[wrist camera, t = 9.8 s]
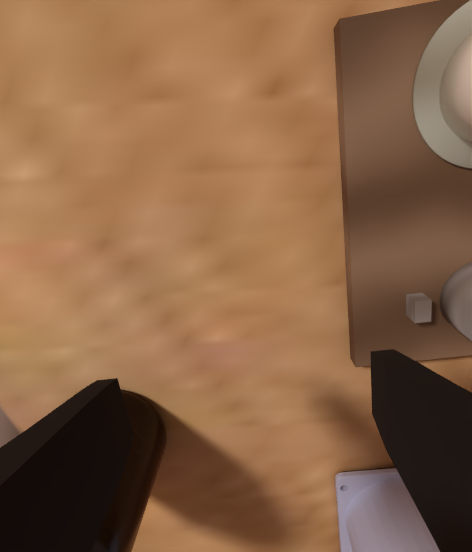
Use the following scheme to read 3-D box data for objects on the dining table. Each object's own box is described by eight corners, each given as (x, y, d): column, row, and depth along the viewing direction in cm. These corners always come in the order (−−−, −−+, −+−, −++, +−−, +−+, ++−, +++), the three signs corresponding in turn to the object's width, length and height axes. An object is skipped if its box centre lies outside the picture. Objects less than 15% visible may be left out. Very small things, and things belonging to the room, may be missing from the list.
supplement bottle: (137, 370, 21) (2, 610, 10) (185, 451, 23) (120, 735, 11) (46, 404, 22) (-173, 657, 11) (99, 479, 24) (-40, 764, 12)
